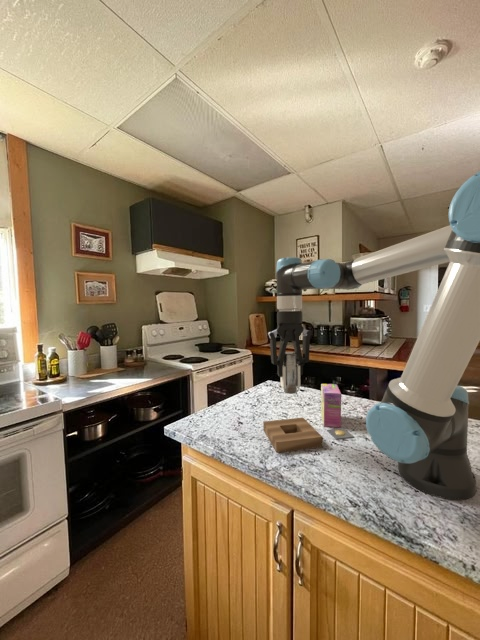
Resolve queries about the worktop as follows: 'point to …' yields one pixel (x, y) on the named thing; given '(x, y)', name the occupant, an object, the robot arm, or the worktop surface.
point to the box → (331, 405)
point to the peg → (291, 372)
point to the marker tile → (340, 433)
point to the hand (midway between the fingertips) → (290, 386)
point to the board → (291, 434)
